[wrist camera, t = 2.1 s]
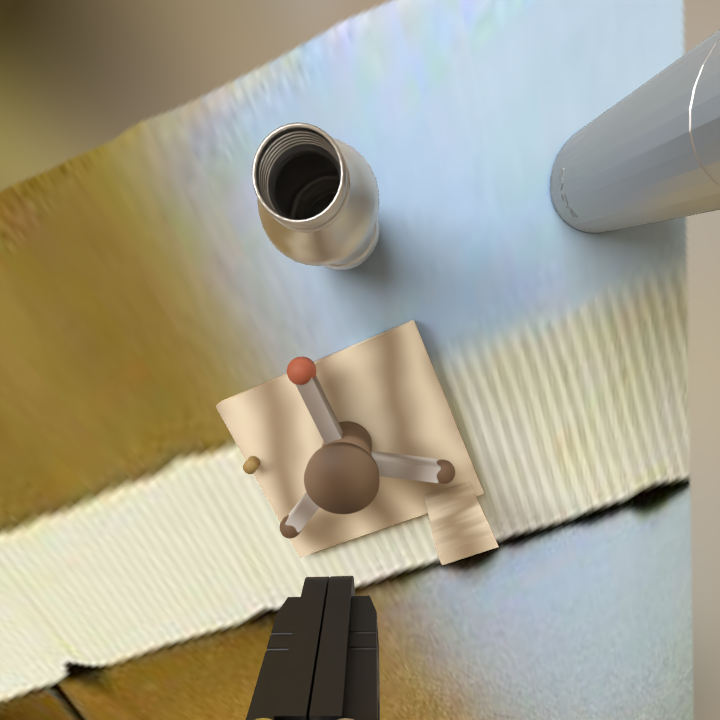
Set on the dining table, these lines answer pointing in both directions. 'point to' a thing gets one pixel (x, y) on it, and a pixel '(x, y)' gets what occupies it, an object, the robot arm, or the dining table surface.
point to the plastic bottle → (316, 197)
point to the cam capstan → (346, 459)
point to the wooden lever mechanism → (388, 434)
